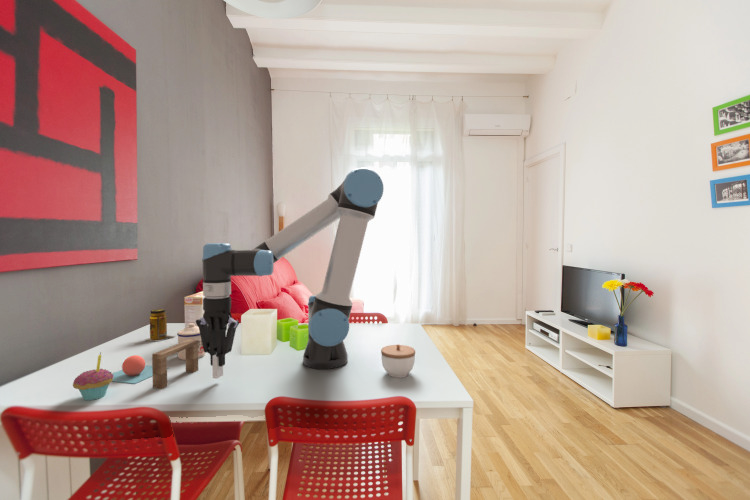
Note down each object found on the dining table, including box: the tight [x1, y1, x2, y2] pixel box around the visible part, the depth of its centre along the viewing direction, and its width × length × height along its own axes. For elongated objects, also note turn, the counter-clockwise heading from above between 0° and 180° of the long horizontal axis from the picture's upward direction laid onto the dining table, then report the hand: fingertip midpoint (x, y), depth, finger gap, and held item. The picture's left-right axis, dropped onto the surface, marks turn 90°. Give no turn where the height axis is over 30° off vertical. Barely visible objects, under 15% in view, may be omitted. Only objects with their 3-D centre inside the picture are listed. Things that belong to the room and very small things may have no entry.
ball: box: [121, 354, 146, 376], centre depth 114 cm, size 6×6×6 cm
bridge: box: [151, 339, 199, 390], centre depth 112 cm, size 3×15×10 cm, turn 167°
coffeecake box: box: [183, 290, 208, 328], centre depth 150 cm, size 15×7×20 cm, turn 178°
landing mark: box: [112, 364, 170, 385], centre depth 115 cm, size 13×13×1 cm
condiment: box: [146, 308, 176, 342], centre depth 154 cm, size 7×8×12 cm
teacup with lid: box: [176, 323, 206, 361], centre depth 134 cm, size 12×9×12 cm
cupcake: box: [72, 352, 114, 401], centre depth 99 cm, size 9×8×12 cm
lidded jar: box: [380, 343, 416, 379], centre depth 117 cm, size 11×11×9 cm
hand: (217, 376), depth 109 cm, fingers closed
